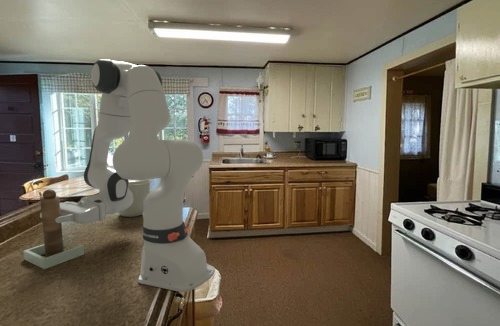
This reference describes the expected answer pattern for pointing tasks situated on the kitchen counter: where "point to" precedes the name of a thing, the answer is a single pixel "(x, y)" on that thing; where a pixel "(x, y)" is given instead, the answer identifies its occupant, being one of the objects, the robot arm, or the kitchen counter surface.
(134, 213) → the canister
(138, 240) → the kitchen counter surface
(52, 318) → the kitchen counter surface
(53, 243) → the pepper mill
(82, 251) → the box
